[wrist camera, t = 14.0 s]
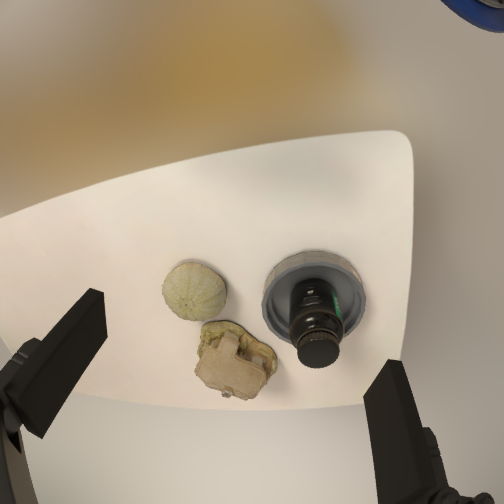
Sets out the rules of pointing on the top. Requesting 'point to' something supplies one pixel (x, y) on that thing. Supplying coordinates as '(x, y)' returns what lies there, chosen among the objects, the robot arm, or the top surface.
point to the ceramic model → (233, 360)
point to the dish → (304, 268)
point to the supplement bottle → (315, 322)
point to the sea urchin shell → (194, 292)
